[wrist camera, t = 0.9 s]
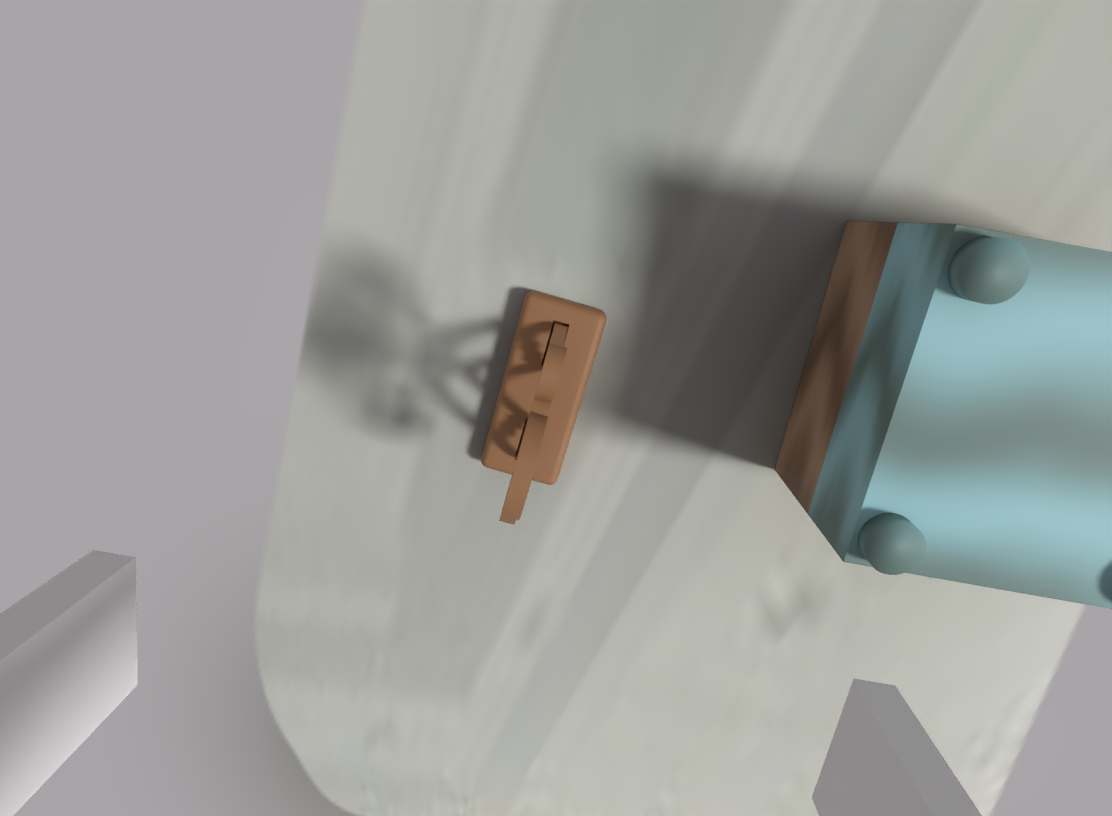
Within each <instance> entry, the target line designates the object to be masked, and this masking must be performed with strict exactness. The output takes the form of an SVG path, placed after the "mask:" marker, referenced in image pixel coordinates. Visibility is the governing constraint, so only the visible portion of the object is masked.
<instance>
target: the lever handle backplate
mask: <svg viewBox="0 0 1112 816" xmlns="http://www.w3.org/2000/svg"><path fill="white" fill-rule="evenodd" d="M605 323H606V315H605V313H604V312H603V311H602V310H600V309H597V308H593V307H590V306H586V305H583V304H579V303H576V302H572V301H569V300H565V299H562V298H559V297H555V296H552V295H548V294H545V293H541V292H538V291H529V292H528V293H527V294H526V295H525V297H524V301H523V305H522V308H521V312H520V316H519V320H518V323H517V327H516V331H515V335H514V338H513V342H512V346H511V350H510V353H509V357H508V361H507V365H506V368H505V372H504V376H503V380H502V383H501V387H500V391H499V395H498V398H497V402H496V406H495V410H494V413H493V417H492V421H491V424H490V428H489V432H488V436H487V439H486V443H485V447H484V451H483V454H482V458H481V462H482V464H483V465H484V466H485V467H487V468H491V469H494V470H498V471H502V472H505V473H509V474H512V478H511V481H510V485H509V488H508V492H507V495H506V499H505V502H504V506H503V509H502V513H501V517H500V520H499V521H503V522H506V523H510V524H515V521H516V519H517V520H519V519H520V516H521V513H522V510H523V507H524V504H525V501H526V497H527V494H528V491H529V487H530V484H531V480H534V481H537V482H541V483H545V484H548V485H552V484H554V483H556V481H557V479H558V476H559V473H560V469H561V466H562V463H563V460H564V456H565V453H566V450H567V447H568V443H569V440H570V437H571V434H572V430H573V427H574V424H575V421H576V417H577V414H578V411H579V407H580V404H581V401H582V398H583V394H584V391H585V388H586V385H587V381H588V378H589V375H590V372H591V368H592V365H593V362H594V359H595V355H596V352H597V349H598V345H599V342H600V339H601V336H602V332H603V329H604V326H605Z"/></svg>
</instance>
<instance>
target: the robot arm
mask: <svg viewBox="0 0 1112 816" xmlns="http://www.w3.org/2000/svg"><path fill="white" fill-rule="evenodd" d="M136 616H137V613H136V558H135V557H130V556H124V555H118V554H112V553H107V552H101V551H94V550H93V551H92V552H90V553H89V554H87V555H86V556H84V557H83V558H81V559H80V560H78V561H77V562H75V563H74V564H72V565H71V566H70V567H68V568H67V569H65V570H64V571H62V572H61V573H59V574H58V575H56V576H55V577H53V578H52V579H50V580H49V581H48V582H46V583H44V584H43V585H42V586H40V587H39V588H37V589H36V590H34V591H33V592H31V593H30V594H28V595H27V596H25V597H24V598H22V599H21V600H20V601H18V602H17V603H15V604H14V605H12V606H11V607H9V608H8V609H6V610H5V611H4V612H2V613H0V816H13V815H14V814H15V813H16V812H17V811H18V810H19V809H20V808H21V807H22V806H23V805H24V804H25V803H26V801H27V800H28V799H29V798H30V797H31V796H32V795H33V794H34V793H35V792H36V791H37V790H38V789H39V788H40V787H41V786H42V785H43V784H44V783H45V781H46V780H47V779H48V778H49V777H50V776H51V775H52V774H53V773H54V772H55V771H56V770H57V769H58V768H59V767H60V766H61V765H62V764H63V763H64V761H65V760H66V759H67V758H68V757H69V756H70V755H71V754H72V753H73V752H74V751H75V750H76V749H77V748H78V747H79V746H80V745H81V743H83V742H84V740H85V739H86V738H87V737H88V736H89V735H90V734H91V733H92V732H93V731H94V730H95V729H96V728H97V727H98V726H99V725H100V724H101V723H102V722H103V720H104V719H105V718H106V717H107V716H108V715H109V714H110V713H111V712H112V711H113V710H114V709H115V708H116V707H117V706H118V705H119V704H120V703H121V701H122V700H123V699H124V698H125V697H126V696H127V695H128V694H129V693H130V692H131V691H132V690H133V689H134V688H135V687H136V686H137V685H138V675H137V617H136ZM812 799H813V801H814V804H815V806H816V809H817V811H818V814H819V816H982V815H981V814H980V812H979V811H978V809H977V808H976V806H975V805H974V803H973V802H972V800H971V799H970V797H969V796H968V794H967V793H966V791H965V790H964V788H963V787H962V785H961V784H960V782H959V781H958V779H957V778H956V776H955V775H954V773H953V772H952V770H951V769H950V767H949V766H948V764H947V763H946V761H945V760H944V758H943V757H942V755H941V754H940V752H939V751H938V749H937V748H936V746H935V745H934V743H933V742H932V740H931V739H930V737H929V736H928V734H927V733H926V731H925V730H924V728H923V727H922V725H921V724H920V722H919V721H918V719H917V718H916V716H915V715H914V713H913V712H912V710H911V709H910V707H909V706H908V704H907V703H906V701H905V700H904V698H903V697H902V695H901V694H900V692H899V691H898V689H897V688H896V686H894V685H888V684H882V683H877V682H871V681H865V680H859V679H853V682H852V685H851V688H850V691H849V694H848V696H847V699H846V702H845V705H844V708H843V711H842V713H841V716H840V719H839V722H838V725H837V728H836V730H835V733H834V736H833V739H832V742H831V745H830V747H829V750H828V753H827V756H826V759H825V762H824V764H823V767H822V770H821V773H820V776H819V779H818V781H817V784H816V787H815V790H814V793H813V796H812Z"/></svg>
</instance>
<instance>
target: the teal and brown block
mask: <svg viewBox="0 0 1112 816" xmlns="http://www.w3.org/2000/svg"><path fill="white" fill-rule="evenodd" d="M775 471H776V472H777V473H778V475H779V476H780V477H781V479H782V480H783V481H784V483H785V484H786V485H787V487H788V488H789V489H790V491H791V492H792V494H793V495H794V496H795V498H796V499H797V500H798V502H799V503H800V504H801V506H802V507H803V508H804V510H805V511H806V512H807V514H808V515H809V516H810V518H811V519H812V520H813V522H814V523H815V524H816V526H817V527H818V528H819V530H820V531H821V532H822V534H823V535H824V536H825V538H826V539H827V540H828V542H829V543H830V544H831V546H832V547H833V548H834V550H835V551H836V552H837V554H838V555H839V556H840V558H841V559H842V560H843V562H847V563H853V564H859V565H864V566H870V567H874V568H875V569H876V570H877V571H879V572H881V573H884V574H889V575H896V574H902V573H910V574H916V575H921V576H927V577H933V578H939V579H944V580H950V581H956V582H961V583H967V584H973V585H979V586H984V587H990V588H996V589H1001V590H1007V591H1013V592H1019V593H1024V594H1030V595H1036V596H1041V597H1047V598H1053V599H1059V600H1064V601H1070V602H1076V603H1081V604H1087V605H1094V606H1099V607H1104V608H1110V609H1112V252H1108V251H1103V250H1097V249H1092V248H1086V247H1081V246H1075V245H1070V244H1064V243H1059V242H1053V241H1047V240H1042V239H1036V238H1031V237H1025V236H1020V235H1014V234H1009V233H1003V232H998V231H992V230H986V229H981V228H975V227H970V226H964V225H959V224H934V223H896V222H859V221H846V224H845V228H844V231H843V235H842V238H841V241H840V245H839V248H838V252H837V255H836V259H835V262H834V266H833V269H832V273H831V276H830V280H829V283H828V287H827V290H826V294H825V297H824V301H823V304H822V308H821V311H820V314H819V318H818V321H817V325H816V328H815V332H814V335H813V339H812V342H811V346H810V349H809V353H808V356H807V360H806V363H805V367H804V370H803V374H802V377H801V380H800V384H799V387H798V391H797V394H796V398H795V401H794V405H793V408H792V412H791V415H790V419H789V422H788V426H787V429H786V433H785V436H784V440H783V443H782V446H781V450H780V453H779V457H778V460H777V464H776V467H775Z"/></svg>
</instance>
